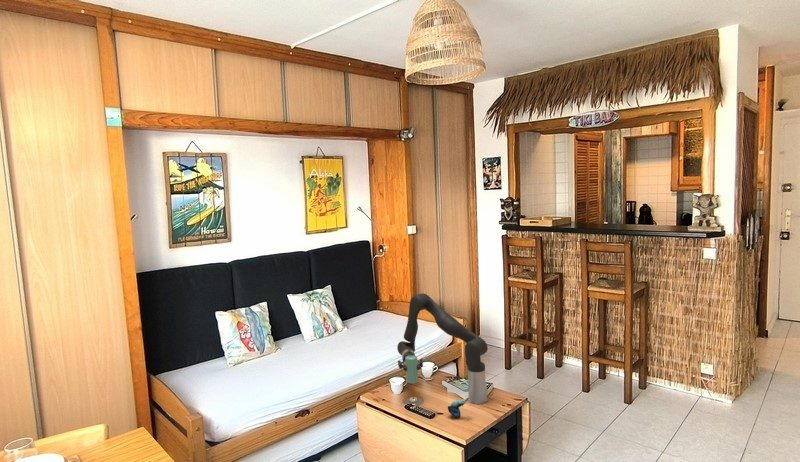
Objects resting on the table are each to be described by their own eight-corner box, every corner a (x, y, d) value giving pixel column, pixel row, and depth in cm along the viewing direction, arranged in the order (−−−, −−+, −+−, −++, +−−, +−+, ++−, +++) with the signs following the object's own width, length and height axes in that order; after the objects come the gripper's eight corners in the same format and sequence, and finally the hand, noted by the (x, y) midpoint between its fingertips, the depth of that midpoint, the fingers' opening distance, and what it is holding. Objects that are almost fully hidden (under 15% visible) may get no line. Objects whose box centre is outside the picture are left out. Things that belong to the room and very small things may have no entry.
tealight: (416, 399, 263) (416, 395, 263) (417, 402, 259) (417, 398, 259) (409, 400, 262) (409, 396, 262) (410, 403, 258) (409, 399, 258)
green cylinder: (417, 378, 263) (416, 354, 262) (418, 382, 257) (417, 358, 255) (405, 378, 262) (404, 355, 261) (407, 383, 256) (405, 359, 255)
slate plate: (422, 397, 267) (422, 396, 266) (424, 406, 256) (424, 405, 256) (402, 398, 266) (402, 397, 266) (404, 407, 255) (404, 406, 255)
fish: (467, 420, 238) (467, 400, 237) (447, 419, 240) (446, 399, 239) (468, 416, 242) (467, 396, 242) (448, 415, 244) (447, 395, 244)
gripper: (395, 352, 272) (398, 363, 256) (421, 350, 273) (425, 361, 257) (396, 365, 273) (399, 376, 256) (421, 363, 274) (426, 374, 257)
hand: (412, 368), depth 257 cm, fingers closed on green cylinder, 6 cm apart
